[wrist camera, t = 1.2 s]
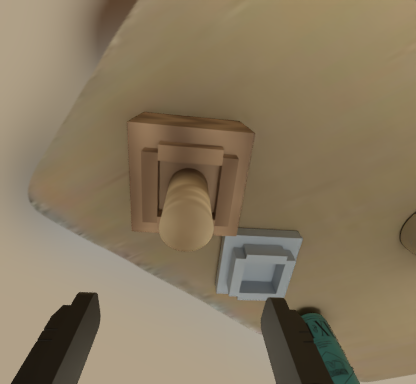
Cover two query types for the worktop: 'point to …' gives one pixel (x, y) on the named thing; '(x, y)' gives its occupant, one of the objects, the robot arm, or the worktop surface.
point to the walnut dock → (187, 165)
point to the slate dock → (257, 263)
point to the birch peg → (187, 212)
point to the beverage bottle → (330, 350)
